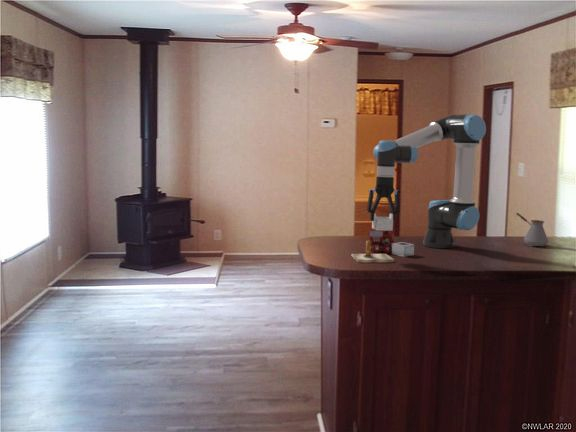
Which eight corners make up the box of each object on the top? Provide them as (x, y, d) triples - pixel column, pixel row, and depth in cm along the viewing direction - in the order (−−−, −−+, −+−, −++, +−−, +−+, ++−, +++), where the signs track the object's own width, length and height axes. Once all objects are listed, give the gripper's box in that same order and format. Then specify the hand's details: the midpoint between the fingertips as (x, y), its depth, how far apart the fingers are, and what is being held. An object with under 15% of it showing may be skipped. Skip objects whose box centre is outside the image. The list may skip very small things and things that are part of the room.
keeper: (385, 256, 269) (386, 238, 268) (394, 262, 258) (395, 243, 257) (351, 256, 267) (351, 238, 266) (358, 262, 255) (358, 243, 254)
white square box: (387, 228, 265) (387, 216, 264) (392, 230, 258) (393, 219, 257) (372, 227, 264) (372, 216, 263) (377, 230, 257) (377, 218, 256)
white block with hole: (401, 252, 279) (402, 242, 278) (413, 255, 274) (414, 244, 273) (391, 254, 275) (392, 243, 274) (403, 256, 269) (404, 246, 269)
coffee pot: (552, 247, 302) (555, 218, 299) (534, 248, 298) (537, 218, 295) (522, 239, 321) (524, 212, 319) (505, 240, 317) (507, 212, 315)
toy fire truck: (395, 253, 277) (396, 231, 276) (369, 253, 276) (370, 231, 274) (391, 250, 284) (392, 228, 283) (365, 250, 283) (366, 228, 281)
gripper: (404, 176, 263) (400, 227, 266) (360, 174, 260) (357, 226, 263) (410, 177, 256) (406, 230, 259) (365, 176, 253) (362, 229, 256)
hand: (382, 228), depth 261 cm, fingers closed on white square box, 7 cm apart
